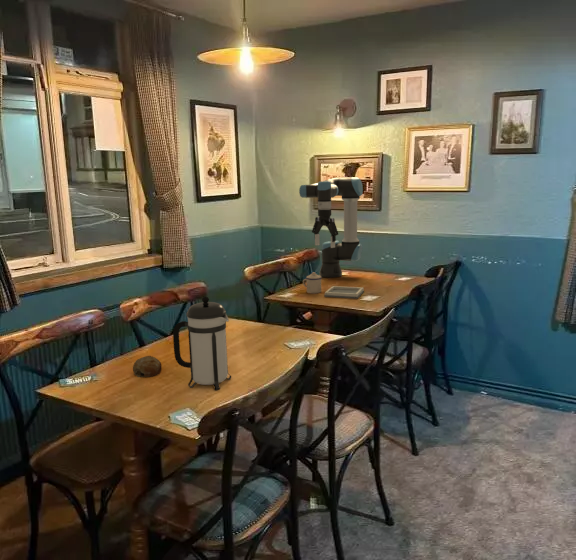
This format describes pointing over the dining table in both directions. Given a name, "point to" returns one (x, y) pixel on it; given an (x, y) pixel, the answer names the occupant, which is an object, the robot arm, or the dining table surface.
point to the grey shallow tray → (344, 292)
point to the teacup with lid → (313, 283)
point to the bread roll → (147, 367)
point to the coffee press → (205, 343)
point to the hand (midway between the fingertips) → (324, 246)
